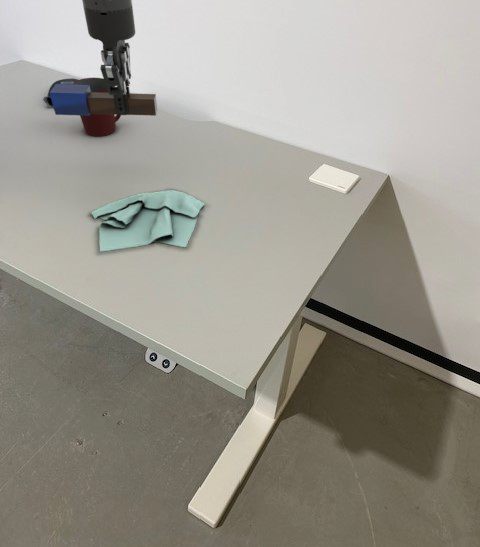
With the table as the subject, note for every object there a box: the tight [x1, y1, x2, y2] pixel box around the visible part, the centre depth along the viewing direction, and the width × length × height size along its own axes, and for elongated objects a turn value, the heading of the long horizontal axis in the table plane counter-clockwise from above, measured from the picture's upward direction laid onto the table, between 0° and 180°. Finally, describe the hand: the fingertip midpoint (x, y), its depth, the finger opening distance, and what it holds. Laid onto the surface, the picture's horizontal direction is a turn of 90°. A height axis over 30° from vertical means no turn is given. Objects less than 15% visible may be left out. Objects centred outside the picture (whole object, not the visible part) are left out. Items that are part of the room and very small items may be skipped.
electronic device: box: [42, 77, 79, 108], centre depth 117 cm, size 9×6×15 cm
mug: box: [72, 77, 122, 137], centre depth 102 cm, size 12×9×11 cm
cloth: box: [91, 189, 205, 253], centre depth 79 cm, size 20×22×2 cm
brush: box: [50, 84, 158, 117], centre depth 77 cm, size 4×18×4 cm, turn 92°
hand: (124, 110), depth 78 cm, fingers closed on brush, 2 cm apart
